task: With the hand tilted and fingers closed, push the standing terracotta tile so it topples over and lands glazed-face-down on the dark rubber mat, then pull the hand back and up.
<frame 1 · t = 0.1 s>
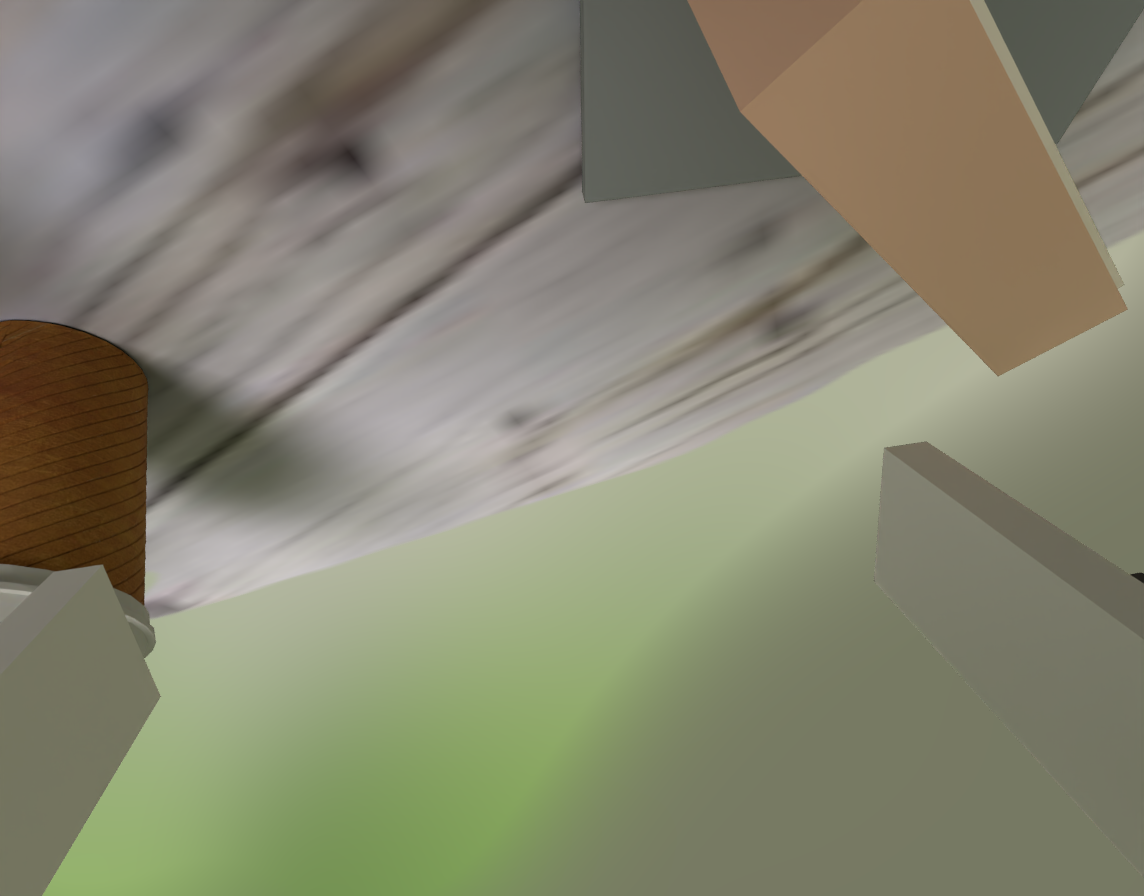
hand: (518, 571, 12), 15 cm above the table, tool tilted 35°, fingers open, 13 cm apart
disposable coffee cup: (56, 369, 28), on the table
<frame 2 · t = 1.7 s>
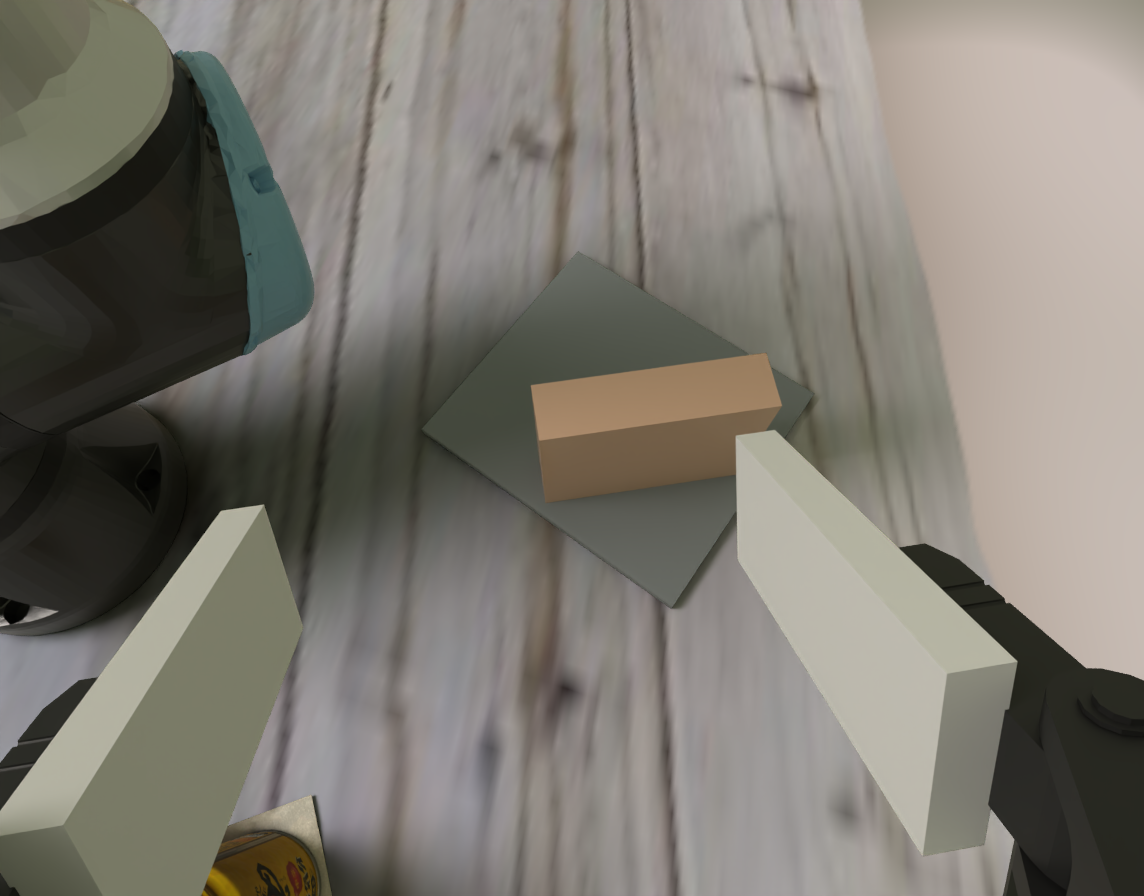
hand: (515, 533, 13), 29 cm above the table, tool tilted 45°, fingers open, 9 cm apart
tile: (637, 466, 44), point 1 cm above the table, touching mat
mat: (619, 414, 46), on the table
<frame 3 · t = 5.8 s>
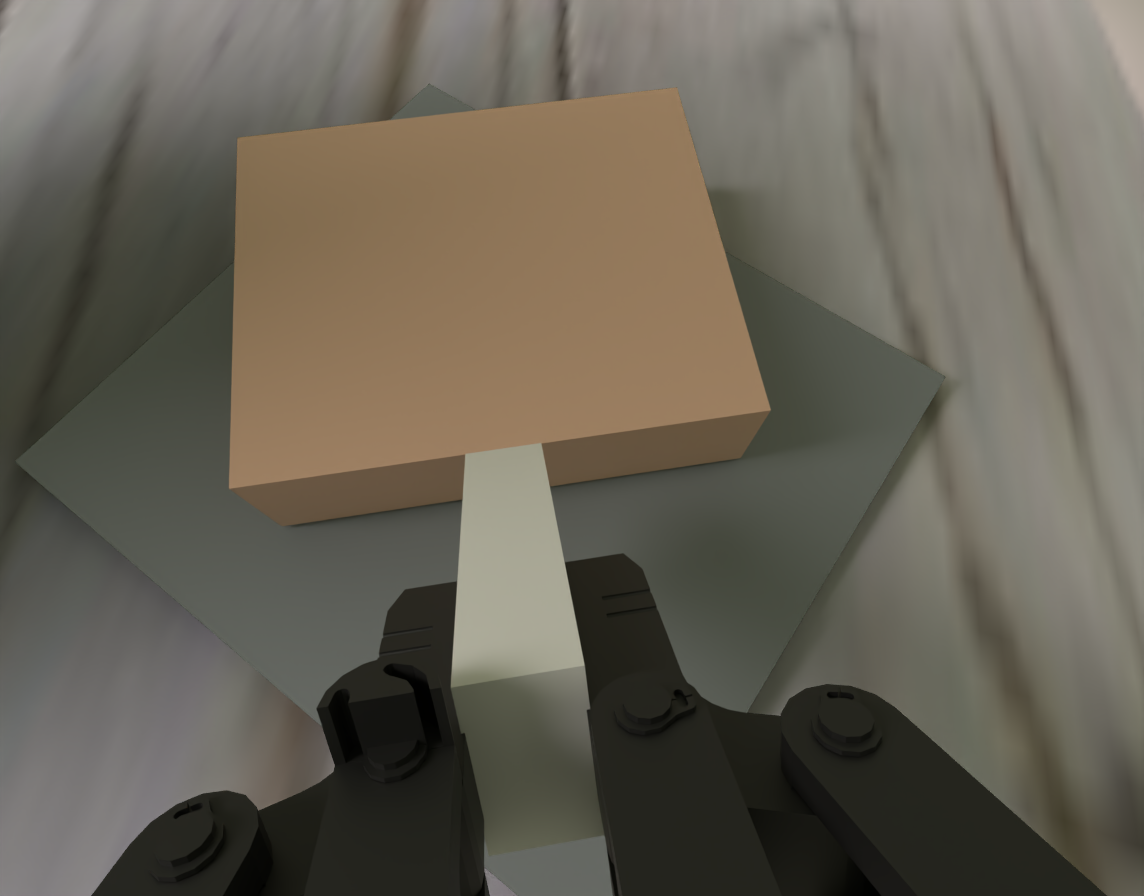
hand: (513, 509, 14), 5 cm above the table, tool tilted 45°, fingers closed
tile: (511, 471, 17), point 2 cm above the table, tilted 90°, touching mat
mat: (495, 426, 20), on the table
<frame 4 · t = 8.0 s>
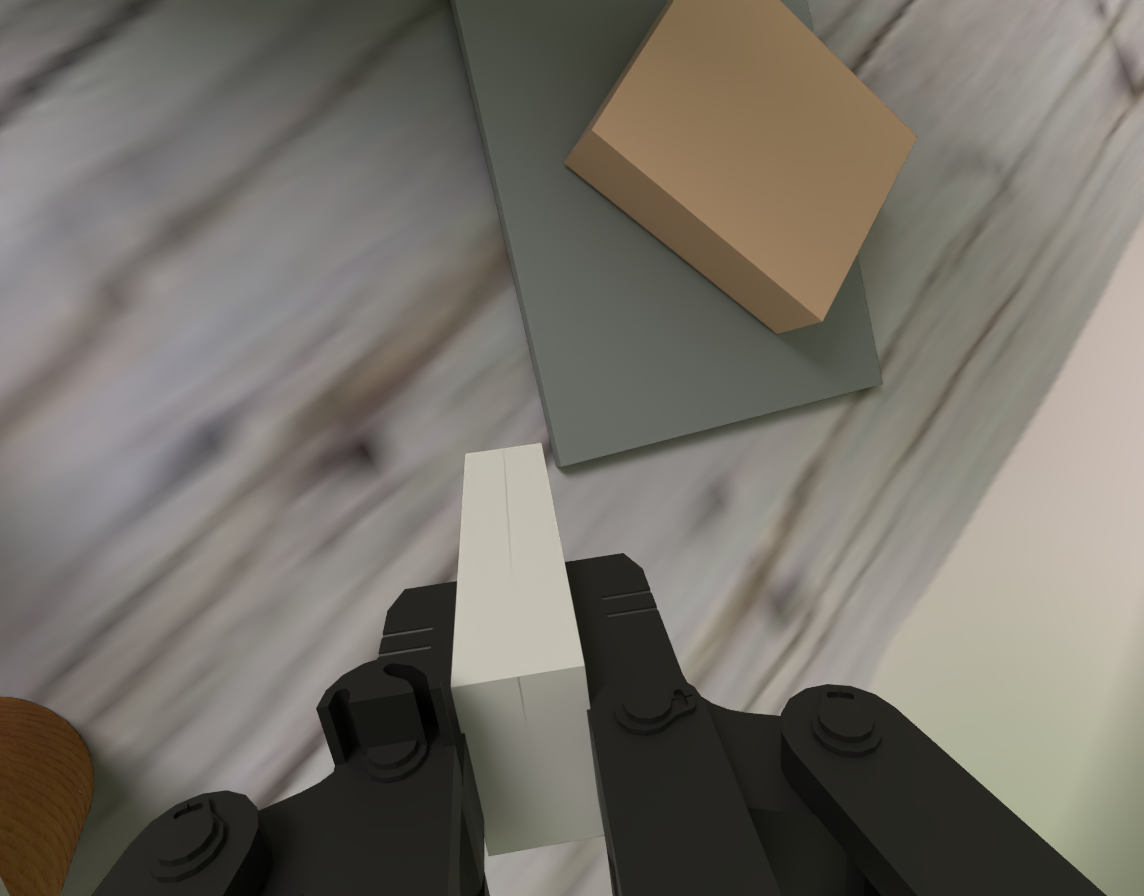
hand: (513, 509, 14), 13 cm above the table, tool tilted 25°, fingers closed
tile: (694, 243, 29), point 2 cm above the table, tilted 90°, touching mat
mat: (685, 213, 31), on the table
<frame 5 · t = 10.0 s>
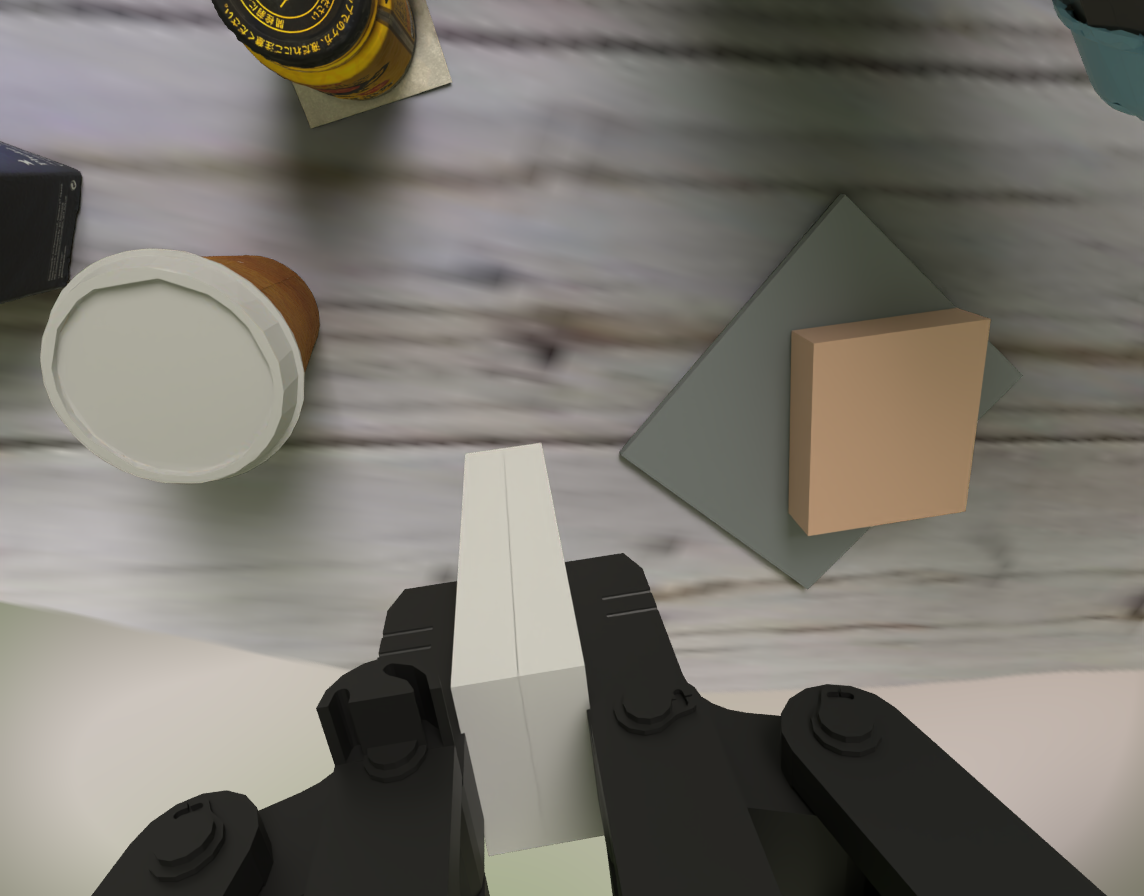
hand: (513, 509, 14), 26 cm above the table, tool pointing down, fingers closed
tile: (800, 435, 41), point 2 cm above the table, tilted 90°, touching mat
disposable coffee cup: (259, 314, 38), on the table
mat: (820, 411, 44), on the table
condiment: (347, 10, 33), on the table
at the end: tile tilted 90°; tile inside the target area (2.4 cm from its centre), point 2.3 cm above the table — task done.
